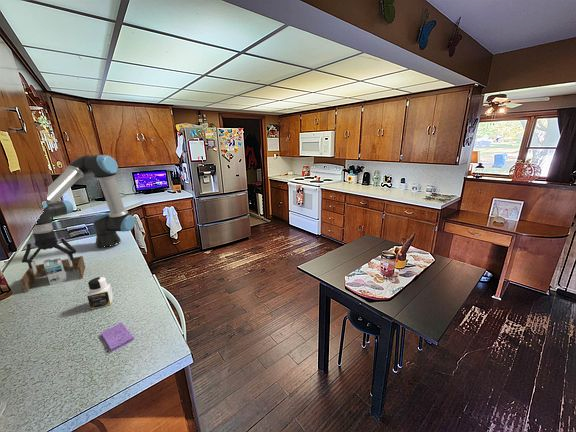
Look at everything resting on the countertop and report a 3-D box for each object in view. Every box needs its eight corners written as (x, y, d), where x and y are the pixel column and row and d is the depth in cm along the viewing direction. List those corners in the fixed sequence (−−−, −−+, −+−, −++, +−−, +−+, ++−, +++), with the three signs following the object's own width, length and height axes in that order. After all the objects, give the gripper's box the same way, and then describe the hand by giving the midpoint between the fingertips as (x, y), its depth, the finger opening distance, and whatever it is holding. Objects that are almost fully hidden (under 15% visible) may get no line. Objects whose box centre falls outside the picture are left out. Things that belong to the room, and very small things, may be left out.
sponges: (111, 353, 80) (110, 348, 79) (101, 335, 87) (99, 331, 87) (134, 340, 85) (133, 336, 84) (122, 325, 92) (121, 321, 92)
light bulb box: (67, 280, 125) (62, 261, 122) (49, 285, 120) (43, 266, 117) (65, 273, 132) (60, 256, 129) (48, 278, 127) (42, 260, 124)
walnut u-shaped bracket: (85, 266, 140) (82, 255, 138) (82, 278, 126) (79, 266, 125) (33, 278, 127) (30, 266, 126) (25, 292, 114) (20, 279, 112)
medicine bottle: (90, 309, 101) (83, 285, 98) (94, 301, 107) (88, 277, 104) (110, 305, 104) (104, 281, 101) (113, 296, 110) (108, 273, 107)
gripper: (4, 238, 109) (17, 279, 114) (75, 228, 123) (84, 265, 128) (9, 234, 115) (22, 273, 120) (76, 225, 129) (85, 260, 134)
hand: (54, 269), depth 124 cm, fingers open, 13 cm apart
